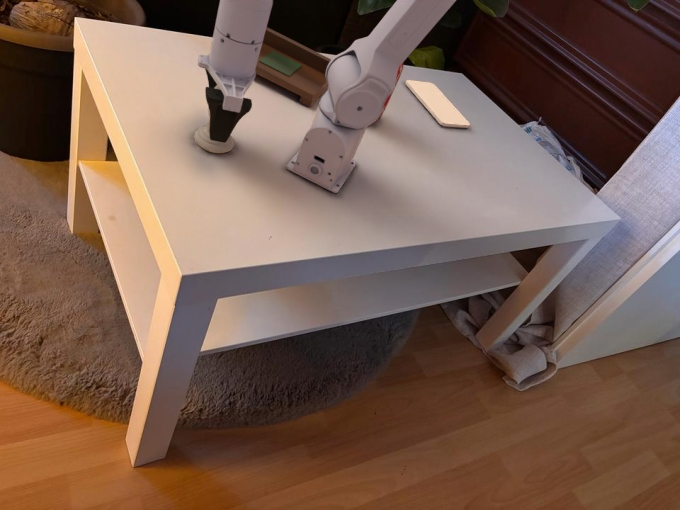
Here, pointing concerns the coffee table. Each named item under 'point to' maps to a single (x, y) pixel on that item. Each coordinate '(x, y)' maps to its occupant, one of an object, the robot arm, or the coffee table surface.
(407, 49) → the robot arm
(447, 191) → the coffee table surface
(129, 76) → the coffee table surface
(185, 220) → the coffee table surface
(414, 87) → the smartphone
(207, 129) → the chess piece
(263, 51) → the shelf
